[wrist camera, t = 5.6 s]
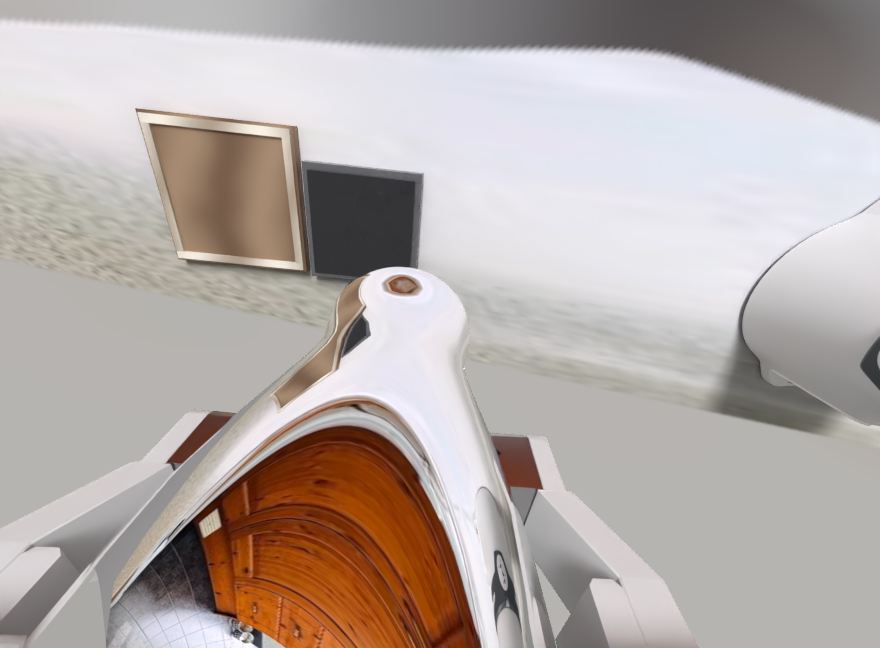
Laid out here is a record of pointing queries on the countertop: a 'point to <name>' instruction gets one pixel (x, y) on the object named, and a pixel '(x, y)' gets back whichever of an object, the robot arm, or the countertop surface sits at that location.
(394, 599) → the beer glass
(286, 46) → the countertop surface
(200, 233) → the board
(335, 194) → the ink pad
